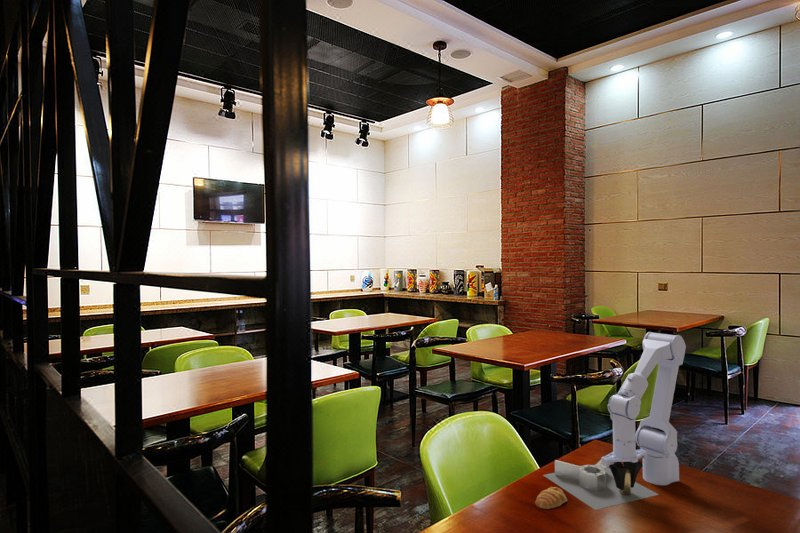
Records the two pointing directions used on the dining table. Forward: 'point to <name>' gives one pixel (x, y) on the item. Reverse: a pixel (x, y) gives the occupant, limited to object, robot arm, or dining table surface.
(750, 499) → the dining table surface
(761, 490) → the dining table surface
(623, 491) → the pin
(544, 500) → the pastry
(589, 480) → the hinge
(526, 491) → the dining table surface
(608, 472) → the mat
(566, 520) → the dining table surface
